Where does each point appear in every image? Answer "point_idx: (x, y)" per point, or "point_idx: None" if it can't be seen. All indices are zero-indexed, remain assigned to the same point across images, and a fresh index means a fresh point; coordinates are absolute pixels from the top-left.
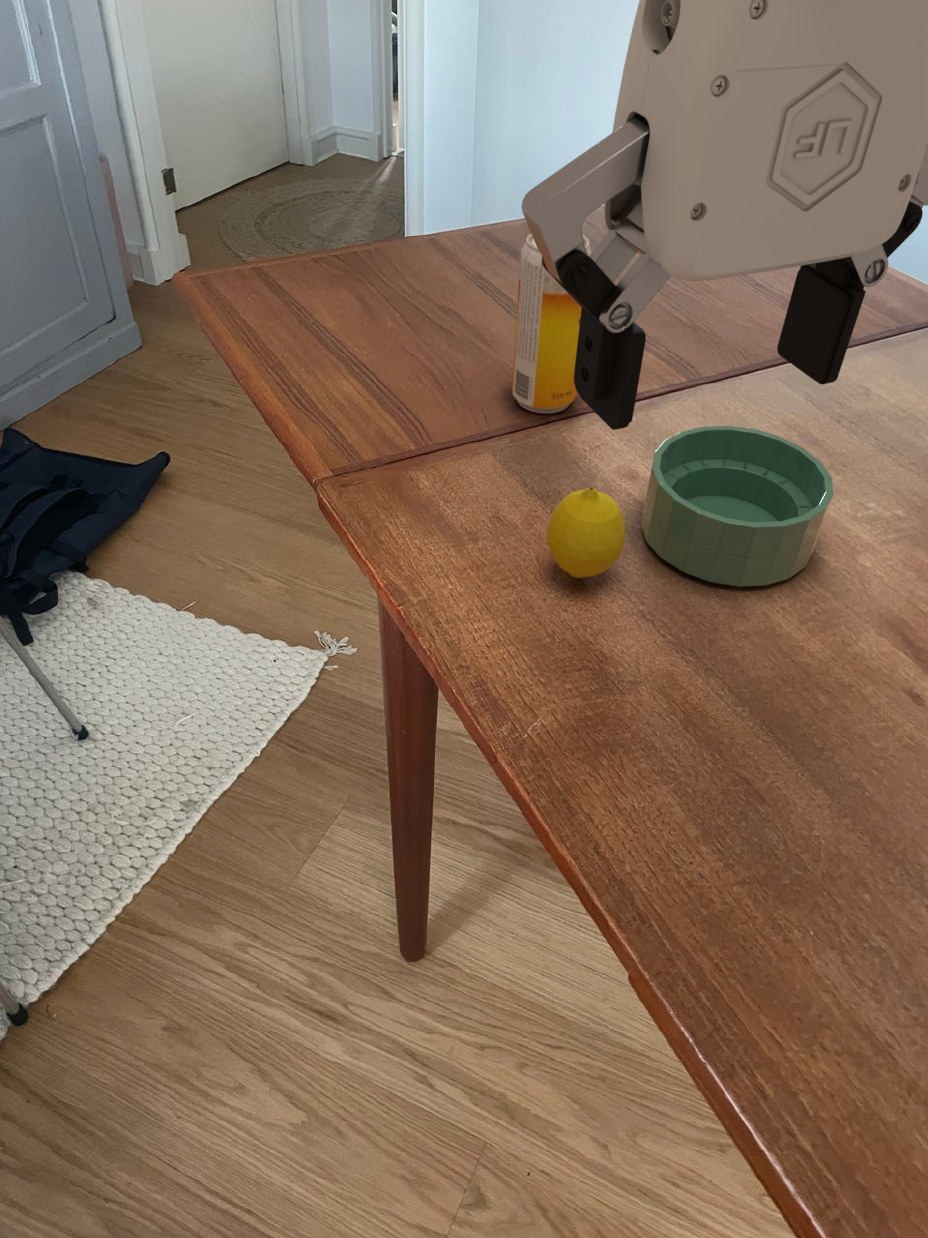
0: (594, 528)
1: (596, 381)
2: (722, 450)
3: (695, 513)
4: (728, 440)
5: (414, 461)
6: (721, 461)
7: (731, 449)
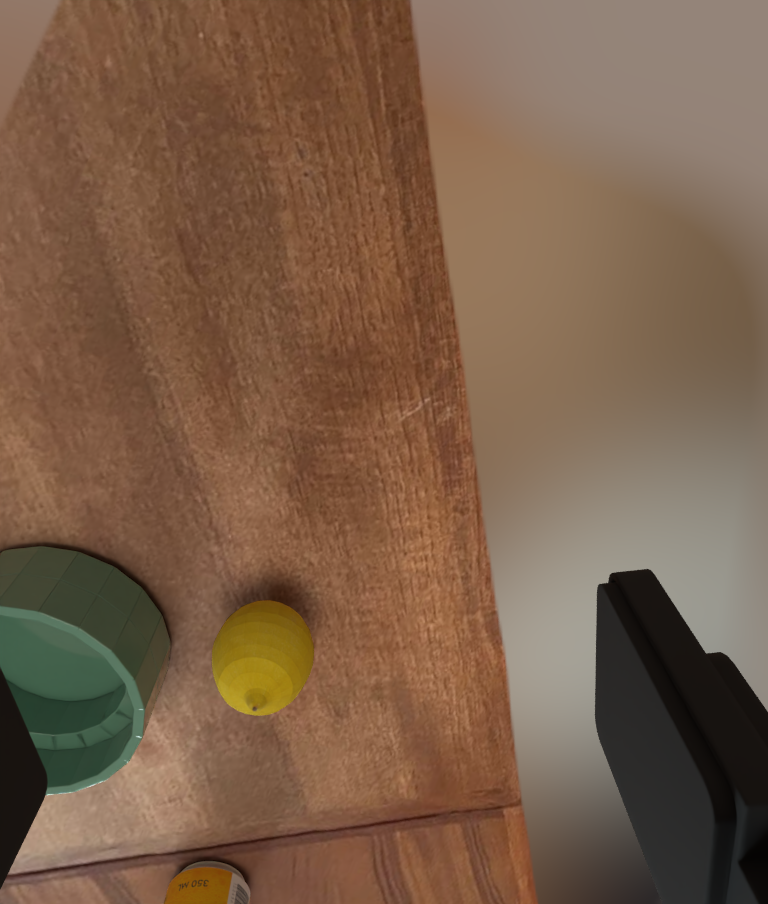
0: (264, 651)
1: (751, 691)
2: None
3: (114, 651)
4: None
5: (403, 813)
6: None
7: None
